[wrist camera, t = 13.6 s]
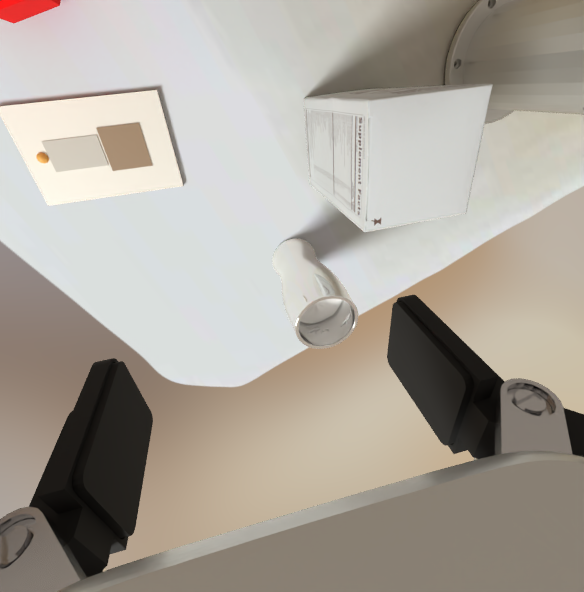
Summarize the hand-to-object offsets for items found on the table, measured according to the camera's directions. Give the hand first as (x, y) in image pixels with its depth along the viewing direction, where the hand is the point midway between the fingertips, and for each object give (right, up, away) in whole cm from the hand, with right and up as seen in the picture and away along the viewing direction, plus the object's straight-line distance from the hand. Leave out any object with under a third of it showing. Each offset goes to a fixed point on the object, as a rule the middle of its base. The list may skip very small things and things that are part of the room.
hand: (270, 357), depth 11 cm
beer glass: (+1, +7, +33) cm, 34 cm away
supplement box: (+7, +21, +26) cm, 34 cm away
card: (-19, +17, +21) cm, 33 cm away
